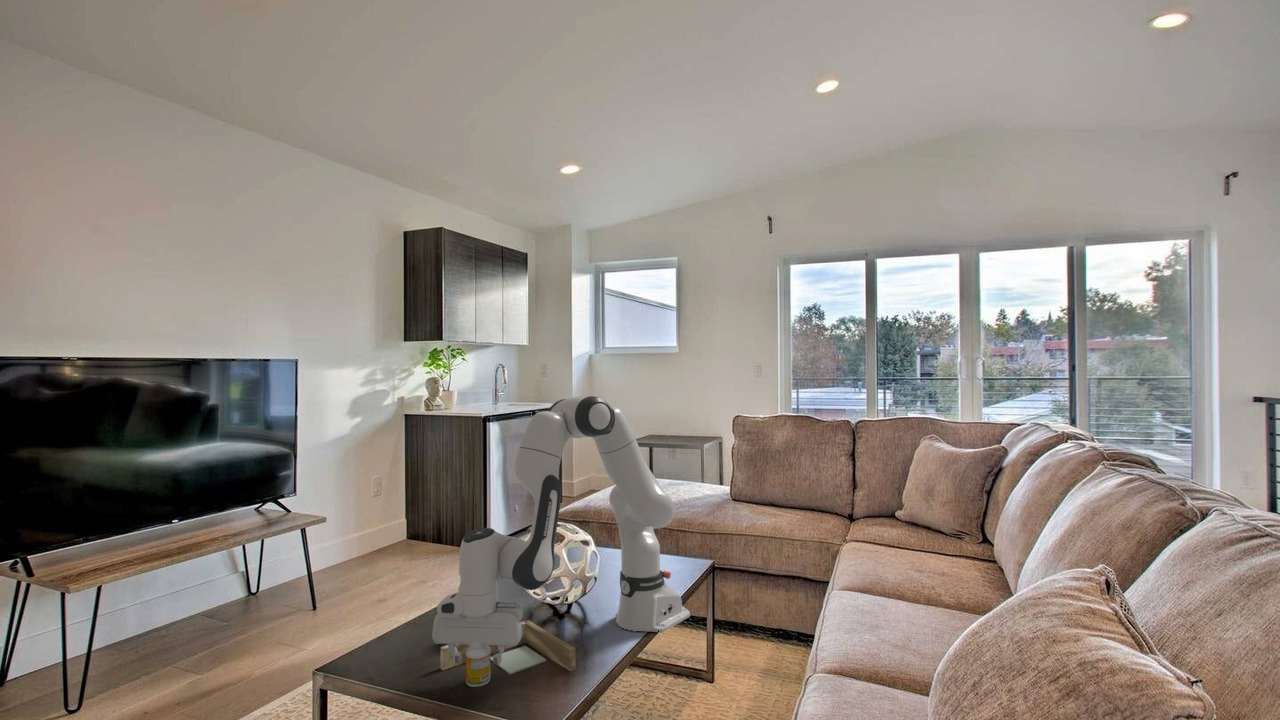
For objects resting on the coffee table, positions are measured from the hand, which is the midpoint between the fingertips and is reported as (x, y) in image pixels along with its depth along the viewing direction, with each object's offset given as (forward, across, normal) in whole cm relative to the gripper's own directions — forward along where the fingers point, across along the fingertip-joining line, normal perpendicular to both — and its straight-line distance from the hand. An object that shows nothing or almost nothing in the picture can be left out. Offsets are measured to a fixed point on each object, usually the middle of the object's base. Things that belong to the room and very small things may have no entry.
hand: (477, 662), depth 135 cm
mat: (+4, -7, -11) cm, 13 cm away
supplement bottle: (+4, 0, 0) cm, 5 cm away
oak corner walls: (+4, -6, -6) cm, 9 cm away
